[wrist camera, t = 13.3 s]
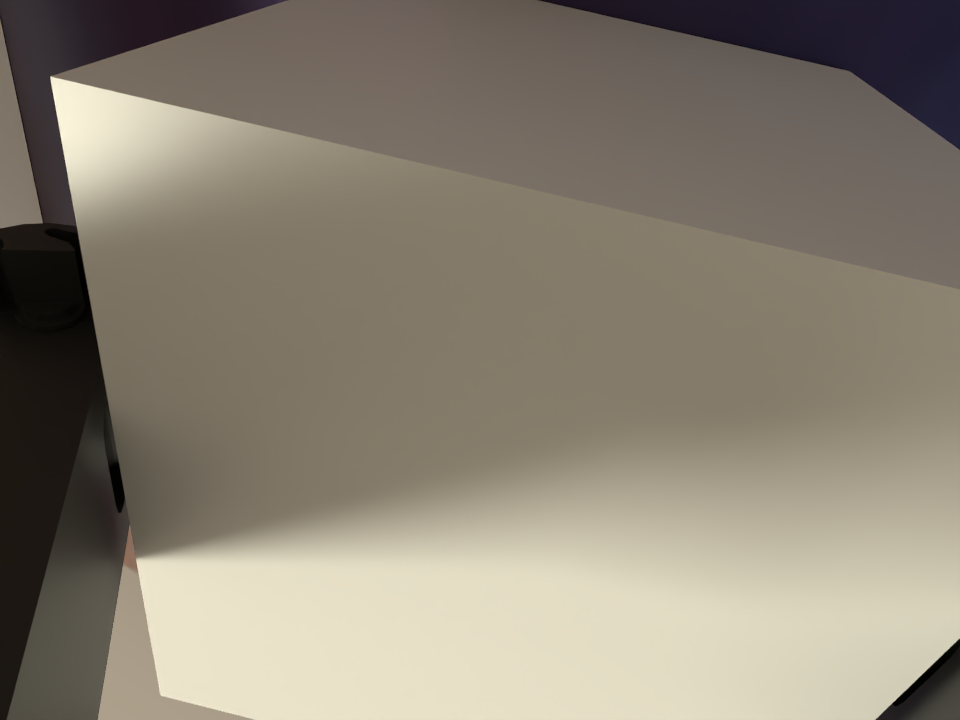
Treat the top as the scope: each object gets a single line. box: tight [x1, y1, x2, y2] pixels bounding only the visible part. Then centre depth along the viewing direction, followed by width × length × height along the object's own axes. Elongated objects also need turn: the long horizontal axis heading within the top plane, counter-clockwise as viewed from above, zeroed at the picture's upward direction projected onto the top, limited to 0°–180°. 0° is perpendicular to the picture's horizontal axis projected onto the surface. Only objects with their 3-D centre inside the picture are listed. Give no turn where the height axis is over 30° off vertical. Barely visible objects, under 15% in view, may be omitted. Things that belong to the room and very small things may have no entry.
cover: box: [50, 0, 960, 720], centre depth 11 cm, size 8×8×9 cm
